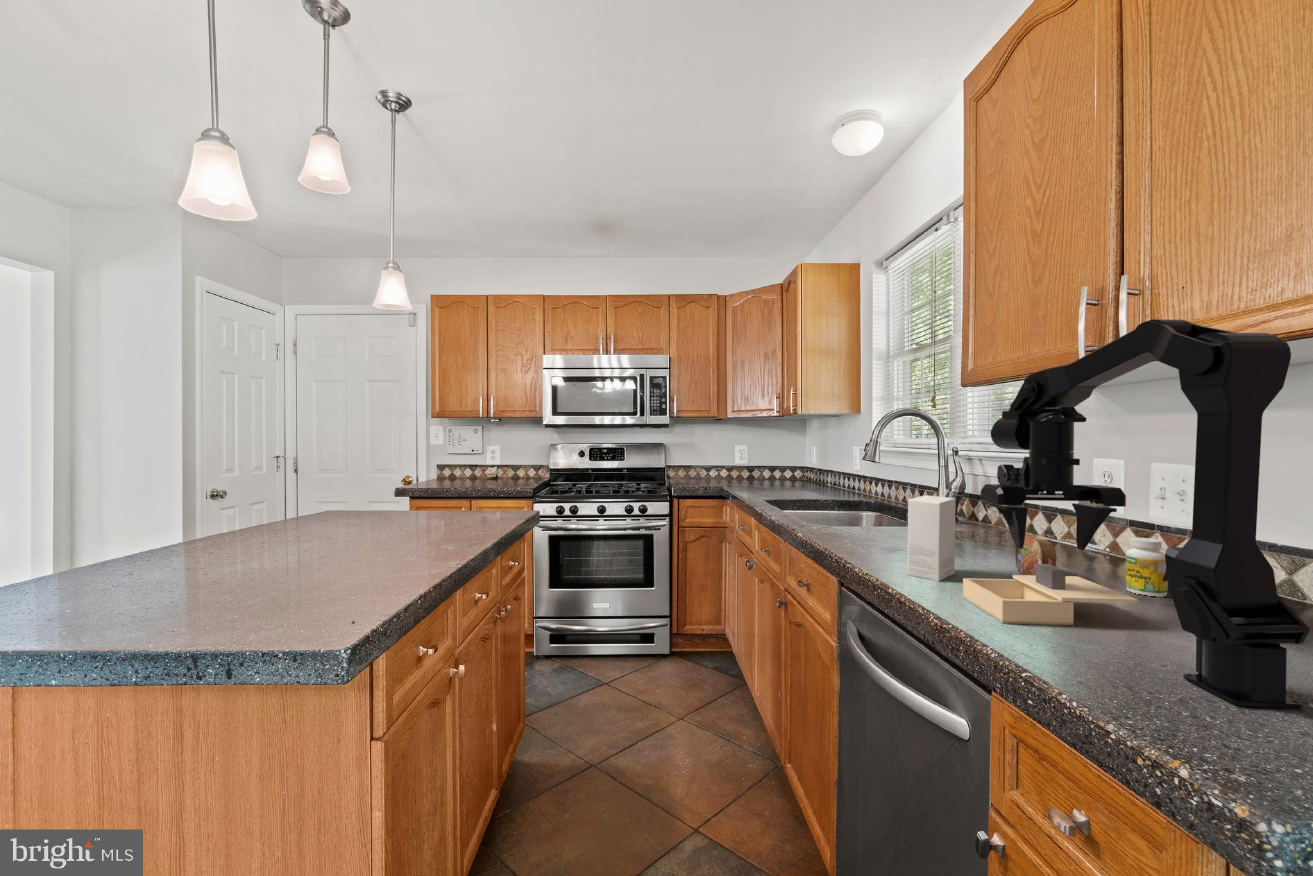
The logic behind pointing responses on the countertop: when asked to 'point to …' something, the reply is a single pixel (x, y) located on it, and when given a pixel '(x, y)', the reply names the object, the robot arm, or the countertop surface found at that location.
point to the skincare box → (931, 537)
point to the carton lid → (1070, 586)
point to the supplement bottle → (1146, 568)
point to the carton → (1016, 602)
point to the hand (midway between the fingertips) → (1049, 548)
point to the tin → (1034, 554)
